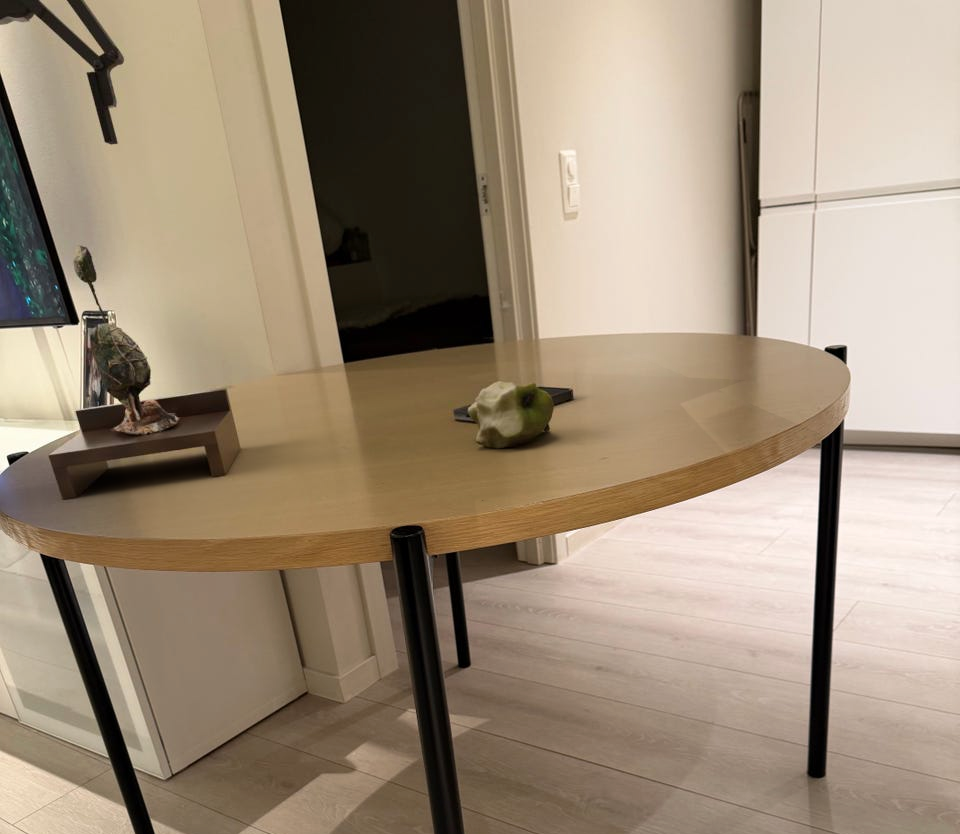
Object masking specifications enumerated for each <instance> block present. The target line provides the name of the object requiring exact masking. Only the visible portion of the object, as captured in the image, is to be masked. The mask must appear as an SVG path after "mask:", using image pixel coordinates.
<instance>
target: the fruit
mask: <svg viewBox="0 0 960 834" xmlns="http://www.w3.org/2000/svg"><path fill="white" fill-rule="evenodd" d="M537 387H538V386H537V384H536V383H535V382H531V383H529V384H526V385H525V386H524V385H516V384H515V383H514V382H512V381H511V382H504V381H499V380H498V381H495V382H494V383H492V384H490V385H489V386H487V387H485V388H482V389H481V390H480V392H479V393H478V395H477V397H475V399H474V400H475V402H473V403H471V404H472V405H471V404H470V405H471V406H470V407H469V408H468V413H469V415H470V418H471V420H474V421H475V422H474V423H476V424H477V426H478V427H477V428H478V432H477V435H476V437H475V441H476V443H477V444H478V445H481V446H485V447H487V448H489V449H495V448H496V449H503V448H509V447H511V448H515V446H516V447H519V446H522V445H525V444H528V443H531V442H533V441H534V439H535V438H536V437H537V436H539V434H540V433H542V432H543V431H544V432H549V431H550V430H551V427H550V422H551V419H552V418H553V413H554V407H555V405H554V404H553V401H552V398H551V396H550V395H549V394H548V393H547V392H546V391H544V390H540V389H538V388H537Z"/></svg>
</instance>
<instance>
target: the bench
mask: <svg viewBox="0 0 960 834" xmlns="http://www.w3.org/2000/svg"><path fill="white" fill-rule="evenodd" d="M151 399H152V400H155V401H157V402H158V403H159V405H160V406H161V407H162V409H163V410H164V411H166V412H167V413H169V414H174V413H176V414H174V415H176V417H178V418H179V417H180V418H179V420H178V422H177V424H174V425H173V426H170V427H168V428H165V429H164V430H161V431H159V430H158V431H156V432H152V433H150V432H149V431H148V432H147V433H146V434H141V435H139V434H137V435H135V434H134V433H133V434H127V433H125V432H121V431H120V432H119V431H112V430H111V429H114V428H115V427H117V426H118V425H120V424H121V423H122V422H123V421H124V417H125V410H126V409H127V408H126V407H125V406H124V405H123V404H122V403H121V402H119V403H113V404H106V405H100V406H99V405H97V406H93V407H92V406H91V407H85V408H78V409H76V410H75V411H74V412H75V415H76V418H77V421H78V425H79V428H80V431H81V432H79V433H78V434H76V435H75V436H74V437H72V438H71V439H69V440H68V441H67V442H65V443H64V444H62V445H61V446H59V447H58V448H56V449H55V450H54V451H52V452H51V453H50V454H49V453H48V460H49V462H50V465H51V468H52V471H53V474H54V477H55V480H56V483H57V486H58V489H59V493H60V495H61V499H62V500H70V499H76V498H77V497H79V496H80V495H81V494H82V493H83V492H84V491H85V490H86V489H88V487H90V486H91V485H92V484H93V483H94V482H95V481H96V480H98V478H99V477H101V476H102V474H104V473H105V472H106V471H107V470H108V469H109V464H108V461H113V460H120V459H121V460H122V459H127V458H134V457H142V456H148V455H155V454H162V453H169V452H174V451H181V450H188V449H195V448H203V447H204V450H205V454H206V459H207V462H208V466H209V470H210V474H211V477H212V478H216V477H223V476H226V475H227V473H228V471H229V469H230V468H231V466H232V464H233V463H234V461H235V459H236V457H237V455H238V453H239V452H240V451H241V444H240V443H241V442H240V440H239V435H238V431H237V427H236V423H235V418H234V414H233V411H232V410H233V409H232V406H231V401H230V397H229V394H228V389H227V387H224V388H217V389H210V390H204V391H203V390H202V391H196V392H189V393H183V394H174V395H169V396H161V397H155V398H148V399H140V402H141V404H142V405H144V402H146V401H147V400H151Z"/></svg>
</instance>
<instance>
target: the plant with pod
mask: <svg viewBox="0 0 960 834" xmlns="http://www.w3.org/2000/svg"><path fill="white" fill-rule="evenodd" d="M72 262H73V263H72V265H73V270H74V271H75V275H76V276H77V278H79V279H80V280H81V281H82V282H84V283H86V284H87V285H88V287H89V289H90V291H91V294H92V295H93V298H94V301H95V304H96V306H98V311H99V312H100V314H101V317H102V319H103V322H104V323H99V324H97V325H96V326H94V327H93V328H92V330H91V331H90V333H89V343H90V349H91V350H90V351H91V354H92V355H91V356H92V359H93V360H94V362H95V364H96V367H97V369H98V372H99V375H100V379H101V381H102V384H103V387H104V390H105V392H106V393H107V394H109V395H110V396H112V398H114V399H116V400H118V402H119V403H122V404H123V405H124V406H125V407H126V408H127V409H126V410H125V417H124V421H123V422H122V423H121V424H120V425H118V426H117V427H115V428H114V429H111V430H112V431H119V432H120V431H121V432H125V433H127V434H133V433H134V434H135V435H137V434H139V435H141V434H146V433H147V432H148V431H149V432H150V433H152V432H156V431H158V430H159V431H161V430H164V429H165V428H168V427H170V426H173V425H174V424H177V422H178V420H179V418H180V417H179V418H178V417H176V415H174V414H176V413H174V414H169V413H167V412H166V411H164V410H163V409H162V407H161V406H160V405H159V403H158V402H157V401H155V400H152V399H153V398H150V399H151V400H147V399H146V400H147V401H146V402H144V405H142V404H141V402H140V400H141V399H140V395H141V393H142V392H143V391H144V390H145V389H146V388H147V387H149V386H151V382H152V381H151V377H152V376H151V375H152V370H151V369H152V368H151V366H150V364H149V361H148V357H147V356H146V355H145V353H144V352H143V350H142V349H141V348H140V346H139V344H137V342H136V341H135V340H134V339H133V338H132V337H130V335H129V334H127V333H126V331H125V332H124V331H123V329H122V328H121V327H118V326H117V325H113V324H110V323H108V321H107V319H106V316H105V314H104V310H103V308H102V307H101V304H100V303H99V298H98V297H97V293H96V289H95V286H94V284H93V283H96V282H97V278H98V277H97V272H96V268H95V265H94V261H93V256H92V254H91V252H90V251H89V248H87V246H83V245H78V246H77V249H76V250H75V253H74V257H73V261H72ZM83 329H84V330H87V327H83Z"/></svg>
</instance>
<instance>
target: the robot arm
mask: <svg viewBox="0 0 960 834" xmlns="http://www.w3.org/2000/svg"><path fill="white" fill-rule="evenodd" d="M66 1H67V3H68V4H69V6H70V7H71V8H72V11H74V13H75V14H76V15H77V17H78V18H79V19H80V21H81V22H82V24H83V25H84V27H85V28H86V29H87V31H88V32H89V34H90V35H91V36H92V38H93V39H94V41H95V42H96V43H97V45H98V46H99V47H100V49H101V50H102V51H103V53H102V54H100V55H99V54H97V53H96V52H95V50H93V49H92V48H91V47H90V46H89V45H88V44H87V43H86V42H85V41H83V40H82V39H81V38H80V37H79V36H78V34H76V33H75V32H74V31H73V30H72V29H70V27H68V26H67V25H66V24H65V23H64V22H63V21H62V20H61V19H60V18H59V17H57V16H56V14H55V13H54V12H53V11H51V9H49V8H48V7H47V6H46V5H45V4H44V3H43V2H42V1H41V0H0V26H2V25H9V24H10V23H13V22H19V23H27V22H30V20H31V19H32V18H33V17H34V16H36V18H37V19H39V20H40V21H42V22H43V23H44V24H45V25H46V26H47V27H48V28H49V29H50V30H52V32H53V33H54V34H56V35H57V36H58V37H59V38H60V39H61V40H62V41H64V42H65V43H66V45H68V46H69V47H70V48H71V49H72V50H73V51H74V52H75V53H76V54H77V55H79V56H80V57H81V58H82V59H83V60H84V61H85V63H87V64H88V65H89V66H90V67H92V68H93V71H87V72H86V76H87V79H88V84H89V88H90V93H91V95H92V100H93V102H94V103H93V104H94V106H95V111H96V113H97V114H96V115H97V118H98V122H99V126H100V130H101V133H102V137H103V141H104V143H106V144H109V145H111V146H112V145H118V144H119V143H118V139H117V135H116V130H115V128H114V124H113V119H112V115H111V112H110V109H111V108H117V104H118V101H117V97H116V94H115V93H116V92H115V89H114V85H113V81H112V77H111V73H112V70H113V69H114V68H116V67H118V66H121V65H123V64H124V62H125V57H124V55H123V54H122V52H121V51H120V49H119V48H118V46H117V45H116V43H115V42H114V41H113V39H112V38H111V37H110V35H109V34H108V32H107V31H106V29H105V28H104V27H103V25H102V24H101V22H100V21H99V20H98V18H97V17H96V15H95V14H94V13H93V11H92V10H91V9H90V7H89V5H88V4H87V3H86V2H85V0H66Z"/></svg>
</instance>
